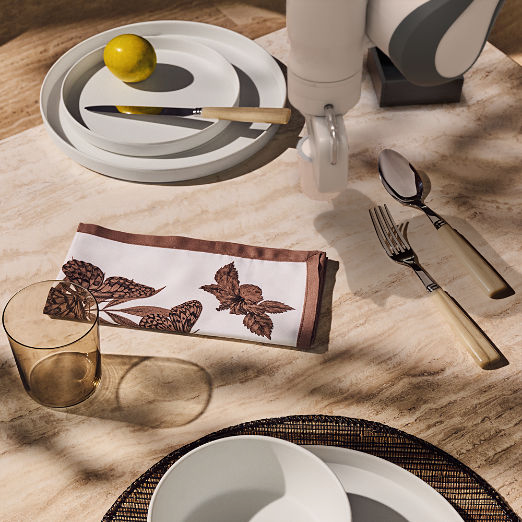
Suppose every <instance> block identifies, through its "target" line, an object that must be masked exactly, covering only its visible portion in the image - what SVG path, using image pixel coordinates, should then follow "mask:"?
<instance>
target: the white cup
mask: <svg viewBox="0 0 522 522" xmlns="http://www.w3.org/2000/svg"><path fill="white" fill-rule="evenodd" d="M349 153H350V145H349V144H348V154H349ZM296 154H297V156H296V157H297V163H298V171H299V179H300V186H301V191H302V193H303V194H304V195H305V197H307V198H309V199H311V200H313V201H319V202H325V201H331V200H333V199H336V198H337V197H338V196H339V195H340V194H341V193H342V192H336V193H320V192H318V190H317V185H316V179H315V173H314V167H313V162H312V156H311V150H310V144H309V138H308V134H305V135H304V136H303V137H302V138H300V139H299V140H298V142H297V144H296Z"/></svg>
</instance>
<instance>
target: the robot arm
mask: <svg viewBox="0 0 522 522" xmlns="http://www.w3.org/2000/svg"><path fill="white" fill-rule="evenodd" d="M506 2H507V0H286V1H285V28H286V33H287V37H288V40H289V49H288V53H287V57H286V72H287V73H286V74H287V99H288V100H289V103H290V105H291V106H292V107H294V109H296V110H298V111H299V113H300V114H301V115H302V116H303V117H304V119H305V123H306V124H305V126H306V132H307V135H308V138H309V144H310V150H311V156H312V162H313V167H314V173H315V179H316V185H317V190H318V192H320V193H336V192H341V193H343V192H345V191H346V190H347V188H348V185H349V153H348V145H349V142H348V141H349V140H348V134H347V129H346V125H345V121H344V120H345V119H344V117H345V116H346V115H347V114H348V113H349V111H351V110H352V109H353V108H355V107H356V106H357V105H358V104H359V102H360V99H361V97H362V84H363V83H362V82H363V67H364V55H365V52H367V51H368V48H371V47H375V46H377V47H378V48H379V49H380V50H382V51H383V52H384V53H385V54H386V55H387V56H388V57H389V58H390V59H391V61H392V62H393V63H394V65H395V66H396V67H397V68H398V69H399V70H400V72H401V73H402V74H403V75H404V76H405V78H406V79H407V80H408V81H409V82H411V83H413V84H415V85H418V86H435V85H440V84H444V83H447V82H450V81H453V80H455V79H457V78H459V77H460V76H462V75H463V76H464V75H465V74H466V73H467V72H469V71H470V70H471V69H472V67H474V65H475V64H476V63H477V61H478V60H479V58H480V56H481V55H482V53H483V51H484V48H485V47H486V44H487V42H488V39H489V37H490V35H491V32H492V30H493V28H494V25H495V23H496V20H497V18H498V17H499V14H500V12H501V10H502V8H503V7H504V6H505V4H506Z"/></svg>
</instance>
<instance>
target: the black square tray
mask: <svg viewBox="0 0 522 522" xmlns="http://www.w3.org/2000/svg"><path fill="white" fill-rule="evenodd" d="M366 66H367V70H368V73H369V76H370V77H369V78H370V80H371V82H372V83H371V84H372V87H373V90H374V94H375V97H376V100H377V104H378V106H379V108H387V107H388V108H389V107H406V106H421V105H436V104H437V105H439V104H453V103H460V101H461V97H462V92H463V89H464V84H465V83H464V82H465V77H464V74H463V75H462V76H460V77H459V78H457V79H455V80H453V81H450V82H447V83H444V84H440V85H435V86H418V85H415V84H413V83H411V82H409V81H408V80H407V79H406V78H405V76H404V75H403V74H402V73H401V72H400V70H399V69H398V68H397V67H396V66H395V65H394V63H393V62H392V61H391V59H390V58H389V57H388V56H387V55H386V54H385V53H384V52H383V51H382V50H380V49H379V48H378V47H377V46H375V47H371V48H368V49H367V54H366Z"/></svg>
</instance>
